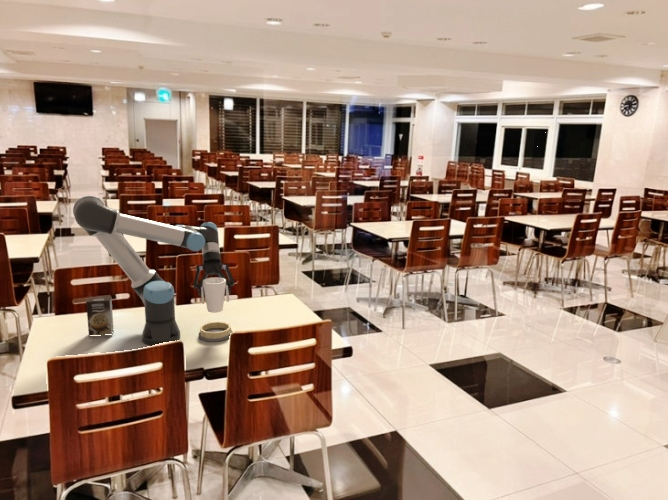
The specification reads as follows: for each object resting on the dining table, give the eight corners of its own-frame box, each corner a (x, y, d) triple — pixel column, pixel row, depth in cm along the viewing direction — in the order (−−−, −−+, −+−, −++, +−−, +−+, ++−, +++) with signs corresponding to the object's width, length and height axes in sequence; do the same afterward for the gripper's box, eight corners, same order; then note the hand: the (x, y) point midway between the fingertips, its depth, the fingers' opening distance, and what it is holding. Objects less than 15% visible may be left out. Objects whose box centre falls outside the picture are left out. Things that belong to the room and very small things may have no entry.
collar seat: (199, 343, 212) (199, 335, 211) (197, 330, 225) (197, 322, 224) (234, 340, 216) (234, 331, 216) (230, 327, 229) (230, 320, 229)
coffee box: (88, 338, 214) (85, 301, 210) (91, 333, 220) (88, 296, 216) (112, 337, 216) (109, 300, 213) (114, 331, 222) (111, 295, 219)
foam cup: (229, 306, 222) (228, 277, 219) (222, 314, 213) (222, 284, 210) (208, 305, 223) (207, 276, 220) (200, 313, 214) (199, 283, 211)
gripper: (236, 258, 232) (241, 303, 221) (184, 260, 225) (187, 307, 214) (237, 249, 225) (243, 295, 214) (184, 251, 219) (187, 299, 208)
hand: (215, 301), depth 214 cm, fingers closed on foam cup, 9 cm apart
